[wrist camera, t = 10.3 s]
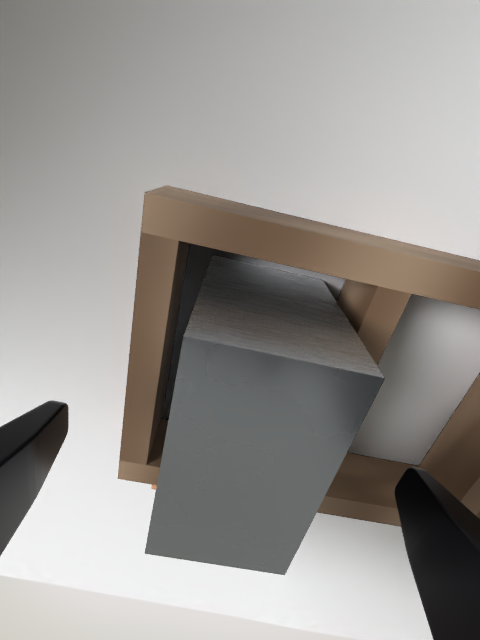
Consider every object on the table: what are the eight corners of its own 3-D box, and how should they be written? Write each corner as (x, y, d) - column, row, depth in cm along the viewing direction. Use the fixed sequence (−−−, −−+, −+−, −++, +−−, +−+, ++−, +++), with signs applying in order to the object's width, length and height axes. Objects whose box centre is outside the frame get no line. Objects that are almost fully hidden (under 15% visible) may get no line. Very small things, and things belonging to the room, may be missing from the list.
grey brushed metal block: (322, 279, 12) (384, 378, 7) (270, 424, 15) (284, 575, 10) (212, 254, 12) (183, 336, 6) (182, 407, 15) (144, 553, 9)
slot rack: (730, 321, 12) (841, 357, 10) (544, 513, 17) (589, 567, 15) (166, 185, 11) (144, 192, 8) (136, 440, 15) (116, 488, 13)
